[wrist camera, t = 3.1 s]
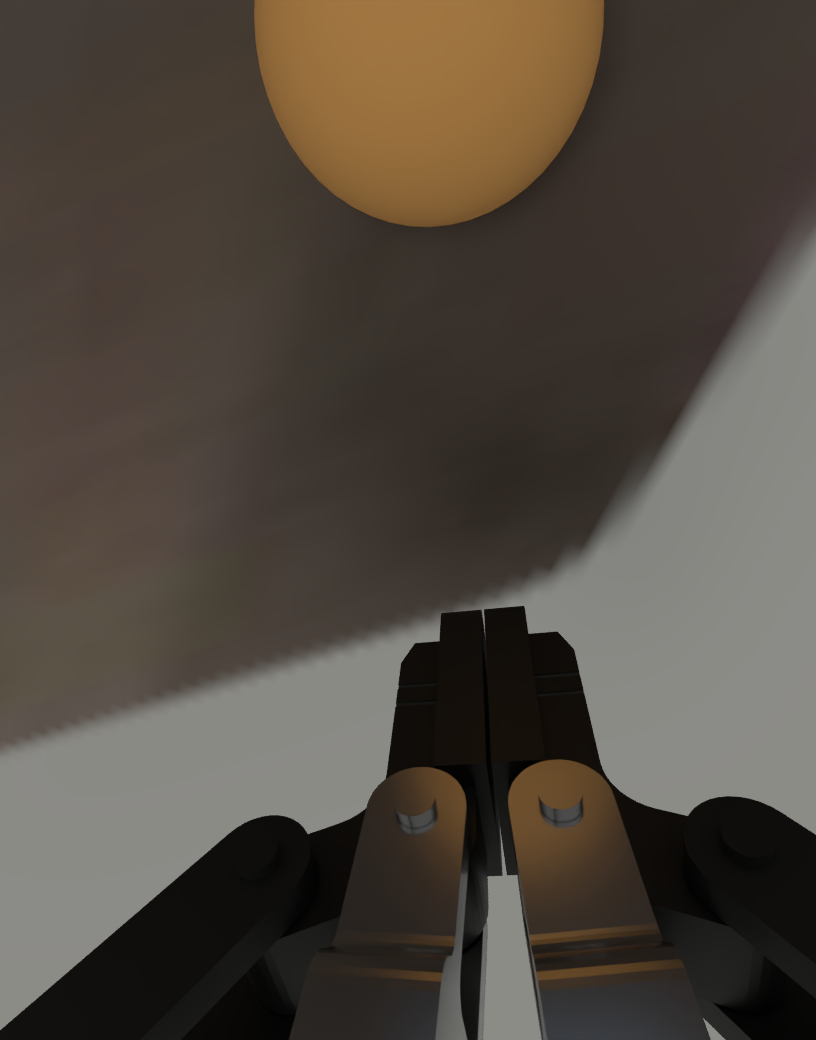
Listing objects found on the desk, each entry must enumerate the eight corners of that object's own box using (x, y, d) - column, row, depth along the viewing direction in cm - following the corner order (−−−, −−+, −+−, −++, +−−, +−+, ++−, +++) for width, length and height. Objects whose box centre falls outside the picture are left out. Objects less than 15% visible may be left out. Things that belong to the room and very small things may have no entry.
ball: (265, -81, 13) (139, -240, 8) (567, -155, 13) (642, -386, 7) (330, 236, 16) (266, 270, 11) (581, 192, 15) (644, 206, 10)
